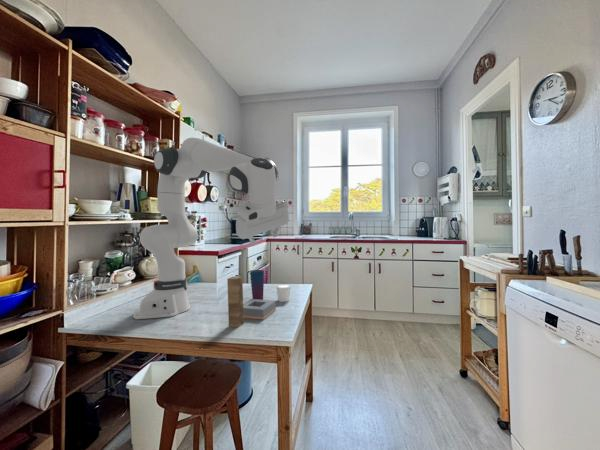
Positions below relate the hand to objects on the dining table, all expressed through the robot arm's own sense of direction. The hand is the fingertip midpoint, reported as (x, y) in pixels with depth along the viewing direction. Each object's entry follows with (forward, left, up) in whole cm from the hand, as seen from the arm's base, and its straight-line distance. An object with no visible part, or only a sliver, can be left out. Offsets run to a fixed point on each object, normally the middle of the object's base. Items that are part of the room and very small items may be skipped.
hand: (264, 240), depth 98 cm
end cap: (0, +16, -32) cm, 36 cm away
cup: (+4, +33, -32) cm, 46 cm away
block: (-10, +7, -32) cm, 34 cm away
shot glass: (+16, +29, -32) cm, 46 cm away
